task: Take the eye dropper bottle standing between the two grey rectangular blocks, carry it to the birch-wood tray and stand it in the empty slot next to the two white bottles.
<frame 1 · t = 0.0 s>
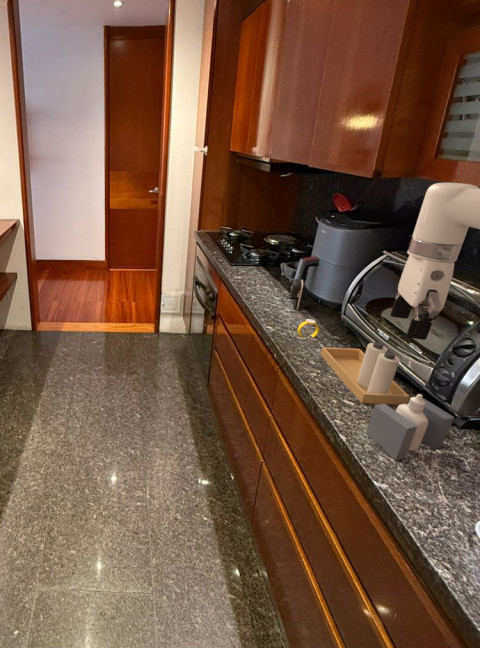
hand: (406, 327, 81), 22 cm above the worktop, tool pointing down, fingers open, 9 cm apart
eye dropper bottle: (401, 442, 81), on the worktop
grey rectangular blocks: (402, 441, 81), on the worktop
tray: (358, 379, 101), on the worktop
white bottles: (359, 377, 101), resting on tray
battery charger: (292, 310, 140), on the worktop
watch: (306, 338, 122), on the worktop
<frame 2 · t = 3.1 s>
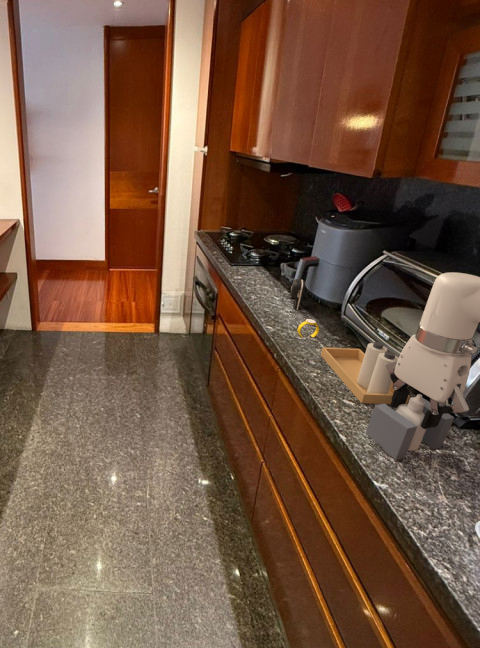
hand: (412, 415, 79), 7 cm above the worktop, tool pointing down, fingers closed on eye dropper bottle, 5 cm apart
eye dropper bottle: (401, 442, 81), on the worktop, touching gripper
everything else where it was.
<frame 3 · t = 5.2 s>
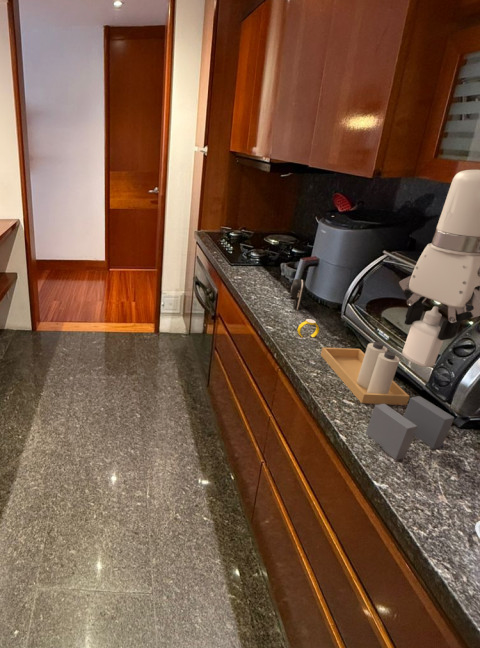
hand: (427, 330, 76), 24 cm above the worktop, tool pointing down, fingers closed on eye dropper bottle, 5 cm apart
eye dropper bottle: (416, 361, 79), point 17 cm above the worktop, touching gripper
everything else where it was.
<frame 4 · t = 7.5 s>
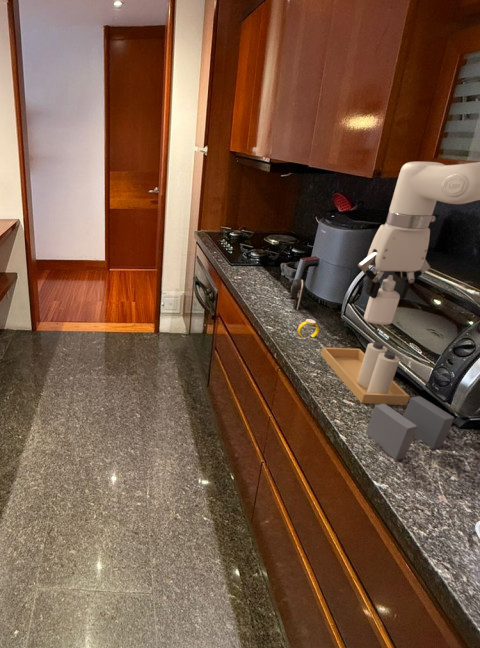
hand: (384, 295, 92), 24 cm above the worktop, tool pointing down, fingers closed on eye dropper bottle, 5 cm apart
eye dropper bottle: (376, 322, 94), point 17 cm above the worktop, touching gripper
everything else where it was.
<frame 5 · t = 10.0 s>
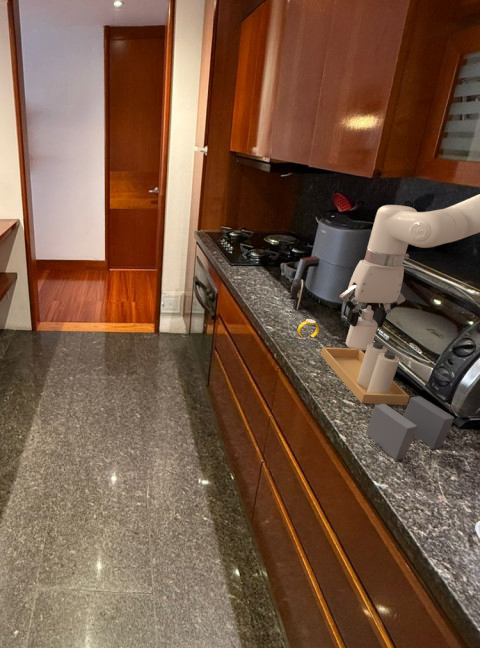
hand: (364, 323, 100), 14 cm above the worktop, tool pointing down, fingers closed on eye dropper bottle, 5 cm apart
eye dropper bottle: (357, 347, 102), point 7 cm above the worktop, touching gripper
everything else where it was.
when the fingers open (8 cm above the worktop, at t = 12.0 s): eye dropper bottle stays where it is, resting on tray.
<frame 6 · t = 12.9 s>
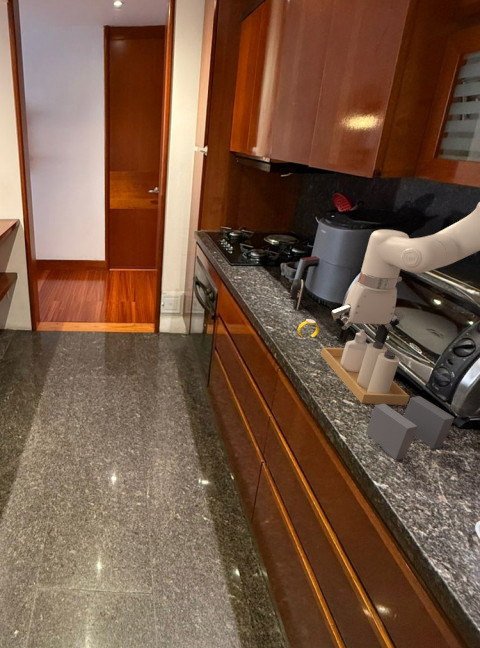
hand: (359, 341, 101), 9 cm above the worktop, tool pointing down, fingers open, 9 cm apart
eye dropper bottle: (351, 369, 105), resting on tray
everything else where it was.
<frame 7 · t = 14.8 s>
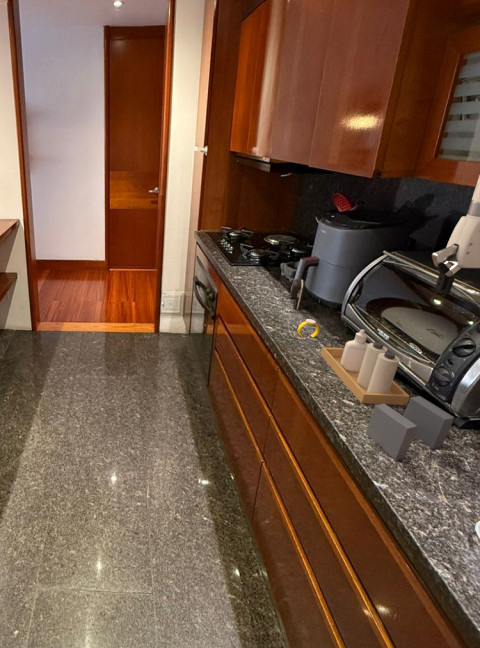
hand: (466, 292, 82), 29 cm above the worktop, tool pointing down, fingers open, 9 cm apart
nothing on the worktop moved.
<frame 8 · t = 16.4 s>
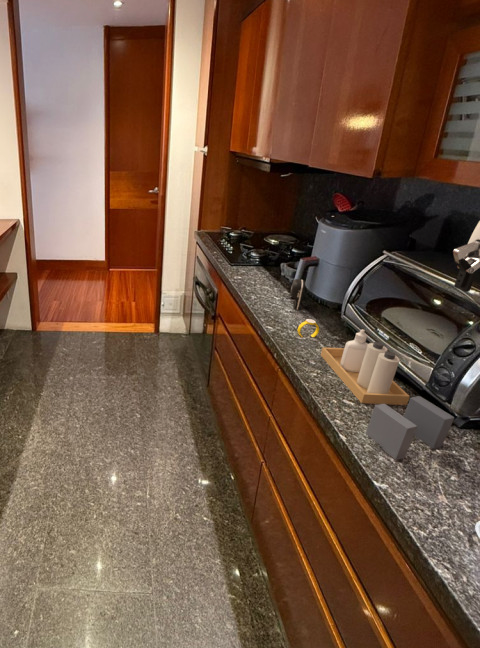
nothing on the worktop moved.
at the end: eye dropper bottle 0.1 cm from the target spot in the tray, point 0.4 cm above the tray's base; eye dropper bottle tilted 0°; the gripper is holding nothing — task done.
